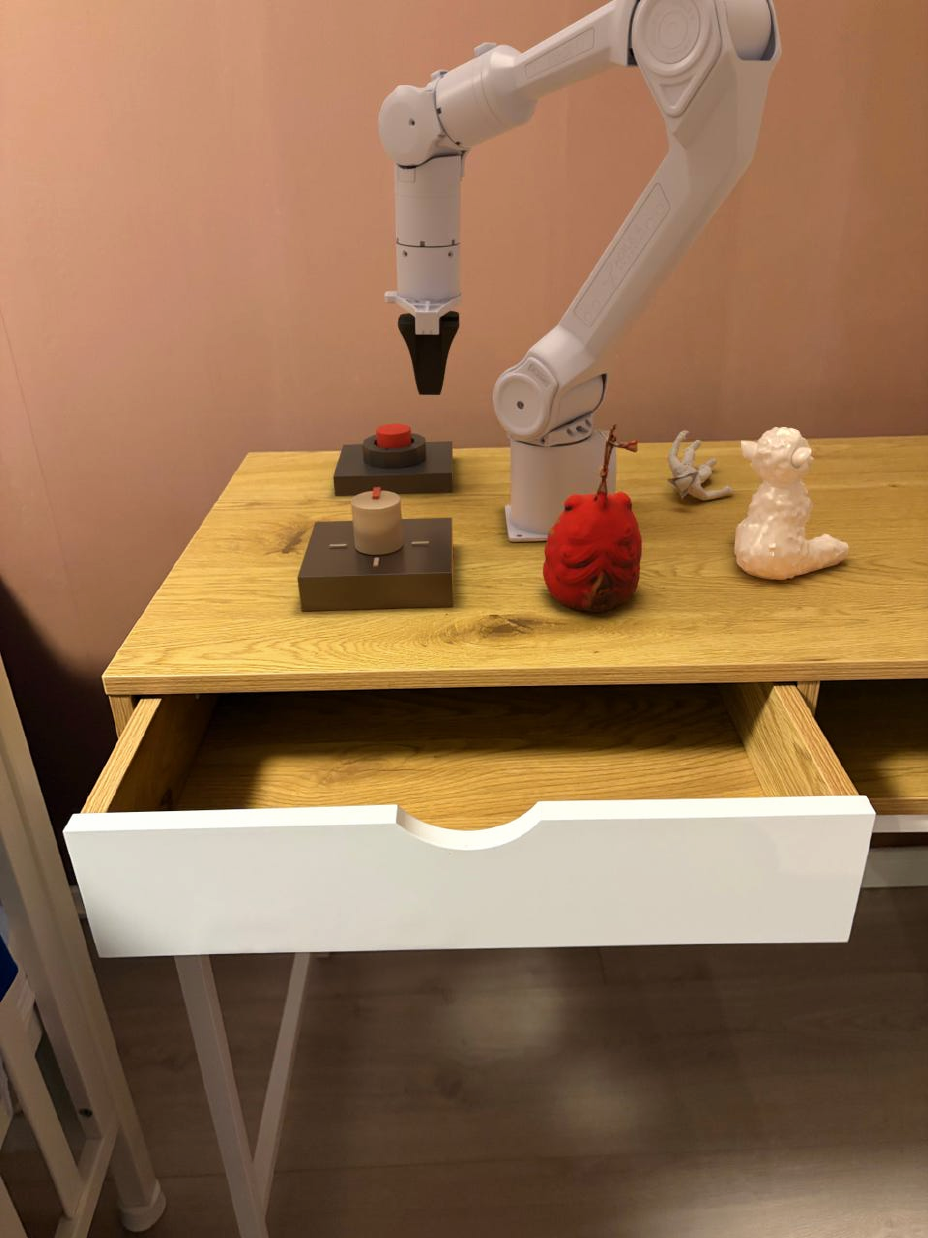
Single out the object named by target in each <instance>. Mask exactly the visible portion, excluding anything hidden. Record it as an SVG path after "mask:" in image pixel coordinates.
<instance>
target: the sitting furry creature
mask: <svg viewBox="0 0 928 1238" xmlns="http://www.w3.org/2000/svg"><path fill="white" fill-rule="evenodd" d="M740 448H741V456H742V458H743V459H744V460H746V461H749V462H750V465H749V466H750V468H751V469H752V470H753V472H754V473H755V474H756V475H758V476H759V477H760V479H762V483H761V484H759V486H758V487H757V490H756V492H754V493H753V494H752V496H751V502H750V504H749V505H748V506H747V508H748V510H747V512H746V515H747V517H746V518H744V519H742V521H741V522H740V523H738V524H737V526H736V527H735V534H734V543H733V545H734V547H733V548H734V550H733V551H734V552H733V554H734V555H735V557H736V559H735V561H736V565H738V566H739V568H741V570H742V571H743V572H745V573H746V574H747V575H750V576H751V577H756V578H759V579H764V580H770V581H773V580H775V581H786V580H787V579H793V578H794V577H798V576H801V575H805V574H809V573H811V572H815V571H819V570H823V569H825V568H830V567H833V566H836V565H839V564H840V562H842V561H843V560H844V559H846V558H847V557H848V555H849V552H850V546H849V544H848V543H847V542H845V541H841V540H840V539H838V538H836V537H833V536H831V534H828V533H823V534H822V535H820V536H815V537H813V538H811V539H807V538H806V534H807V531H806V528H807V523H808V522H809V521H810V519H811V517H810V514H811V511H812V510H813V508H814V505H813V502H812V499H811V498H810V497H809V490H808V489H807V488H806V485H805V483H804V482H803V478H805V476H807V475H808V474H810V472H811V466H812V465H811V464H813V463H814V462H815V458H814V457H813V456H812V455H811V454H812V447H811V445H809V442H808V440H807V439H806V438H805V437H803V436H802V433H801V432H800V430H798V429H796V428H793V427H786V426H781V427H779V426H775V427H773V428H771V429H769V430H766V431H765V432H764V433H762V435H761V437H760V438H758V440H757V442H755V441H751V440H742V439H741V440H740Z"/></svg>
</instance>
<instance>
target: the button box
mask: <svg viewBox="0 0 928 1238" xmlns="http://www.w3.org/2000/svg"><path fill="white" fill-rule="evenodd" d="M411 442H412V444H410V445H409V446H405V447H401V448H383V447H378V446H377V437H376V434H373V435H371V436H369V437H367V438H365V439H363V442H362V443H358V444H357V443H355V444H354V443H353V444H343V445H342V447H341V451H340V454H339V458H338V460H337V464H336V467H335V469H334V472H333V475H332V476H333V487H334V488H333V489H334V496H335V497H354V496H356V495H358V494H361V493H364V492H369V491H373V489H374V487H381V491H389V492H393V493H396V494H398V495H415V494H416V495H417V494H444V493H445V494H449V493H451V494H452V493H454V454H453V453H454V451H453V441H452V440H450V441H449V440H447V441H426V437H424V436H423V435H421V434H419V433H414V432H411Z"/></svg>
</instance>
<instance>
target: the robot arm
mask: <svg viewBox="0 0 928 1238" xmlns="http://www.w3.org/2000/svg"><path fill="white" fill-rule="evenodd" d="M779 29H780V28H779V22H778V16H777V11H776V7H775V4H774V1H773V0H611V1H609V2H608V3H606V4H605V5H602V6H601V7H599V8H597V9H596V10H594V11H592V12H590V13H589V14H587V15H585V16H584V17H581V18H580V19H578V20H577V21H576V22H573V23H571V24H570V25H568V26H567V27H565V28H563V29H562V30H561V29H560V31H558V32H556V33H554V34H553V35H551V36H549V37H547V38H546V39H544V40H542V41H541V42H539V43H538V44H536V45H534V46H532V47H531V48H529V49H527V50H526V51H524V52H521V51H519V50H518V49H516V48H514V47H513V46H511V45H508V44H499V45H498V44H497V43H496V42H483V43H481V44H480V45H477V46H476V47H474V48H473V54H474V58H472V59H470V60H469V61H466V62H465V63H463V64H461V65H459V66H457V67H455V68H453V69H451V70H447V69H438V70H436V71H434V72H433V73H431V74H430V80H431V81H429V82H428V83H427V85H426V86H425V87H417V86H414V85H409V84H401V85H397V86H396V87H395V88H394V90H393V91H391V92H390V93H389V94H388V95H387V96H386V97H385V98H384V101H383V102H382V104H381V107H380V108H379V109H380V110H379V113H378V119H377V120H378V121H377V130H378V136H379V137H378V138H379V141H380V144H381V146H382V149H383V150H384V153H385V154H386V156H387V157H388V158H389V159H390V160H391V161H393V173H394V174H393V176H394V177H393V180H394V181H393V184H394V213H395V214H394V215H395V217H394V219H395V251H396V254H395V255H396V286H397V287H396V289H397V290H388V291H385V292H384V303H385V304H396V305H397V306H399V307H400V308H402V309H403V310H404V311H405V313H402V314H400V315H399V317H398V319H397V328H398V330H399V333H400V335H401V337H402V339H403V340H404V343H405V345H406V347H407V351H408V353H409V357H410V360H411V365H412V370H413V376H414V382H415V386H416V389H417V392H418V395H419V396H440V395H441V393H442V390H443V385H444V381H445V374H446V369H447V362H448V357H449V353H450V350H451V347H452V344H453V341H454V340H455V338H456V336H457V334H458V331H459V329H460V312H458V311H456V310H454V309H456V308H457V307H459V306H460V305H462V303H463V293H462V292H461V201H462V200H461V199H462V198H461V193H462V192H461V190H462V187H461V185H462V184H461V183H462V180H463V177H465V164H466V160H467V157H468V155H469V154H470V153H471V150H472V148H474V147H477V146H479V145H481V144H483V143H486V142H488V141H490V140H493V139H495V138H497V137H499V136H501V135H504V134H506V133H508V132H510V131H513V130H515V129H517V128H520V127H522V126H524V125H526V124H527V123H529V122H530V121H531V120H532V118H533V117H534V114H535V112H536V110H537V109H536V108H537V105H538V102H539V99H541V98H543V97H546V96H548V95H551V94H553V93H556V92H558V91H561V90H563V89H565V88H568V87H570V86H573V85H576V84H578V83H581V82H583V81H586V80H589V79H590V78H593V77H596V76H597V75H600V74H603V73H605V72H608V71H611V70H613V69H616V68H617V67H623V68H638V69H639V70H640V73H641V76H642V77H643V79H644V81H645V83H646V86H647V87H648V90H649V92H650V94H651V95H652V98H653V100H654V102H655V104H656V107H658V110H659V113H660V114H661V116H662V118H663V120H664V125H665V130H666V137H667V141H668V153H667V154H666V155H665V157H664V158H663V160H662V161H661V163H660V164H659V166H658V168H656V171H655V172H654V174H653V176H652V177H651V179H650V180H649V182H648V184H646V186H645V188H644V190H643V191H642V193H641V194H640V195H639V197H638V199H637V200H636V202H635V204H634V205H633V207H632V208H631V210H630V211H629V212H628V215H627V216H626V218H625V219H624V221H623V222H622V224H621V225H620V227H619V229H618V230H617V232H615V234H614V236H613V238H612V239H611V241H610V242H609V244H608V245H607V247H606V249H605V250H604V252H603V253H602V255H601V257H600V258H599V259H598V261H597V263H596V264H595V266H594V268H593V269H592V270H591V272H590V273H589V275H588V277H587V279H586V280H585V282H584V283H583V284H582V286H581V288H580V289H579V290H578V292H577V294H576V295H575V297H574V298H573V300H572V301H571V303H570V305H569V307H568V308H567V310H566V311H565V313H564V314H563V315H562V317H561V318H560V319H559V322H558V323H557V324H556V326H554V327H553V328H552V329H551V330H549V332H547V333H546V334H545V335H544V336H542V338H540V339H539V340H538V341H537V342H536V343H535V344H533V345H532V346H531V347H530V348H529V349H528V350H527V352H526V353H525V355H524V357H523V358H522V359H521V360H520V362H518V363H517V364H515V365H514V366H511V367H509V368H507V369H505V370H504V371H503V372H502V373H501V374H500V375H499V376H498V378H497V379H496V382H495V384H494V385H493V390H492V406H493V410H494V415H495V416H496V418H497V420H498V422H499V424H500V426H501V427H502V429H504V430H505V432H506V438H507V439H509V443H510V444H509V445H510V451H509V452H510V504H506V505H505V506H504V514H505V515H504V516H505V523H506V530H507V538H508V541H509V542H511V543H523V542H525V543H526V542H547V537H548V533H549V530H550V529H551V528H552V527H553V526H554V524H555V522H556V520H557V519H558V517H559V516H560V515H561V514H562V513H563V512H564V510H565V507H564V503H565V501H566V500H567V499H568V498H569V497H570V496H571V495H573V494H578V495H586V494H596V491H597V489H598V487H599V484H600V481H601V477H600V475H599V467H601V466H602V465H604V453H605V444H606V439H605V438H604V437H603V436H602V435H601V434H600V433H599V432H598V429H593V426H594V424H595V412H597V411H598V410H599V409H600V408H601V407H602V406H603V404H604V402H605V401H606V399H607V395H608V391H609V385H610V381H611V379H612V375H613V373H614V372H615V370H616V369H617V368H618V366H619V365H620V358H619V356H618V354H617V351H618V349H619V348H620V347H621V345H622V344H623V343H624V341H625V340H626V338H627V337H628V336H629V334H630V333H631V331H632V330H633V329H634V327H635V326H636V324H637V323H638V322H639V321H640V319H641V318H642V316H643V315H644V313H645V312H646V311H647V309H648V308H649V306H650V305H651V303H652V302H653V301H654V299H655V298H656V297H657V296H658V294H659V292H661V290H662V288H663V287H664V285H665V284H666V283H667V281H668V280H669V279H670V277H671V276H672V274H673V273H674V272H675V270H677V268H678V267H679V265H680V264H681V262H682V260H683V259H684V258H685V256H686V255H687V254H688V252H689V251H690V250H691V247H693V245H694V244H695V242H696V241H697V239H698V238H699V237H700V236H701V234H702V233H703V231H704V230H705V229H706V227H707V226H708V224H709V223H710V221H711V220H712V219H713V217H714V216H715V214H717V211H719V209H720V207H721V206H722V205H723V203H724V202H725V200H726V199H727V198H728V196H729V195H730V194H731V192H732V191H733V189H734V188H735V186H737V184H738V182H739V181H740V180H741V178H742V177H743V176H744V174H745V173H746V171H747V170H748V168H749V166H750V165H751V163H752V161H753V160H754V157H755V153H756V150H757V145H758V140H759V134H760V130H761V124H762V119H763V114H764V109H765V104H766V99H767V94H768V89H769V84H770V79H771V77H772V74H773V73H774V71H775V68H776V67H777V65H778V63H779V61H780V59H781V58H782V55H783V48H782V42H781V36H780V30H779ZM406 312H407V313H406ZM600 430H601V431H602V432H603V434H604V435H605V436H607V437H608V436H609V431H610V430H605V429H600ZM608 469H609V471H608V475H607V478H606V484H607V492H608V494H615V493H616V485H617V447H614V448H613V449H612V453H611V456H610V460H609V465H608Z"/></svg>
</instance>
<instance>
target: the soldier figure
mask: <svg viewBox="0 0 928 1238" xmlns="http://www.w3.org/2000/svg"><path fill="white" fill-rule="evenodd" d="M687 434H689V431H688V430H682V431H680V432H679V433H678V434H677V436H676V438H675V440H673V443H672V445H671V448H670V451H669V453H668V457H667V462H668V465H669V470H670V471H671V474H672V476H673V477H669V478H667V479H666V481H667V483H670V484H671V485H672V486H673V487H674V488H675V489H676V490H677V491H678V494H679V496H680V498H681V500H683V499H684V497H686V496H687V495H690V496H692V497H694V498H695V499H699V500H700V501H704V502H705V501H709V500H715V499H717V498H722V497H723V496H727V495H729V494H730V493H732V492H734V491H735V490H734V487H733V486H731V485H730V484H729V485H726V486H725V487H723V488H722V489H716V490H705V489H704V488H703V487H702V485H701V484H704V482H706V480H707V479H708V478H711V477H712V476H713V469H712V468H714V467H715V466H716V464H717V462H718V461H717V459H716V458H715V457H714V458H711V459H708V460H707V461H706V462H704V463H701V464H700V465H698V466H697V468H695V466H694V465H695V461H696V451H697V450H699V449H700V447H701V445H702V441H701V440H700V439H697V440H695V441H693V442H692V443H691V444H690V445H689V446H687V447H686V448H685V449H684V450H683V451H682V453H683V456H682V458H681V460H679V459H678V455H679V451H680V446H681V443H682V442H683V441H687V440H688V439H687V437H686V435H687Z"/></svg>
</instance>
